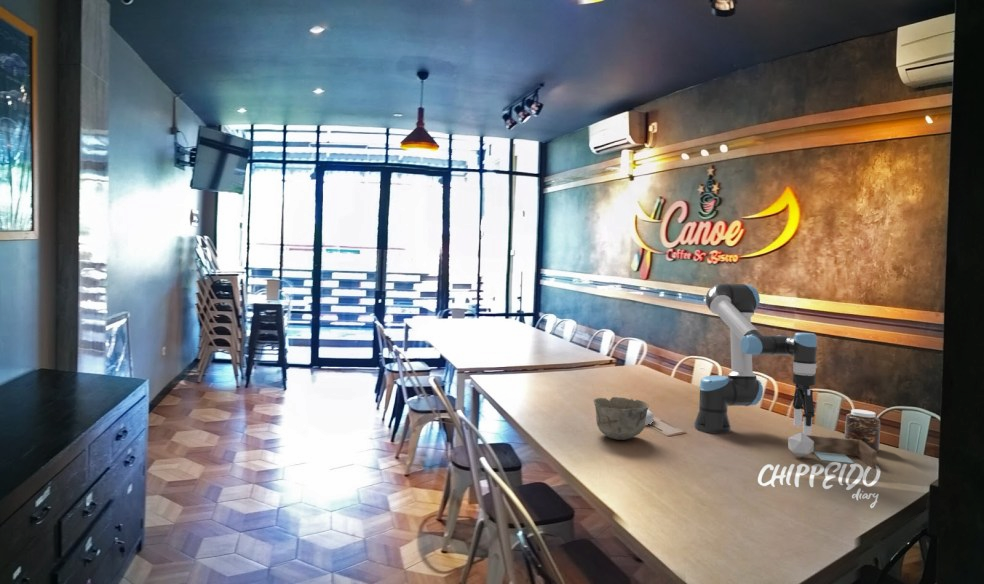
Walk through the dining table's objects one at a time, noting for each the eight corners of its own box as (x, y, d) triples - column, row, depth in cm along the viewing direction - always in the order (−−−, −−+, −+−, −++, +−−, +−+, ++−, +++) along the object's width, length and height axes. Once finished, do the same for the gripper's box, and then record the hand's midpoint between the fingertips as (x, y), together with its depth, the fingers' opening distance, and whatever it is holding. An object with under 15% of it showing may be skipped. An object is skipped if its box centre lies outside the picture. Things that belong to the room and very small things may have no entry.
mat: (821, 460, 219) (821, 459, 219) (813, 452, 230) (813, 451, 230) (854, 463, 217) (854, 462, 217) (844, 455, 227) (844, 454, 227)
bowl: (651, 436, 246) (652, 400, 245) (641, 449, 226) (643, 410, 226) (599, 428, 255) (601, 394, 255) (586, 441, 235) (587, 403, 235)
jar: (874, 446, 241) (875, 410, 241) (882, 454, 230) (884, 416, 230) (841, 442, 245) (843, 407, 244) (848, 450, 234) (850, 413, 233)
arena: (814, 462, 217) (815, 445, 217) (803, 449, 233) (804, 434, 233) (875, 468, 212) (876, 451, 212) (860, 455, 228) (860, 439, 228)
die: (816, 462, 217) (818, 435, 217) (790, 460, 219) (792, 433, 218) (809, 455, 225) (810, 429, 225) (784, 453, 227) (785, 427, 227)
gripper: (825, 379, 208) (823, 439, 208) (806, 370, 232) (804, 423, 233) (802, 378, 210) (800, 437, 210) (785, 368, 234) (783, 421, 234)
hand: (802, 430), depth 221 cm, fingers open, 13 cm apart
